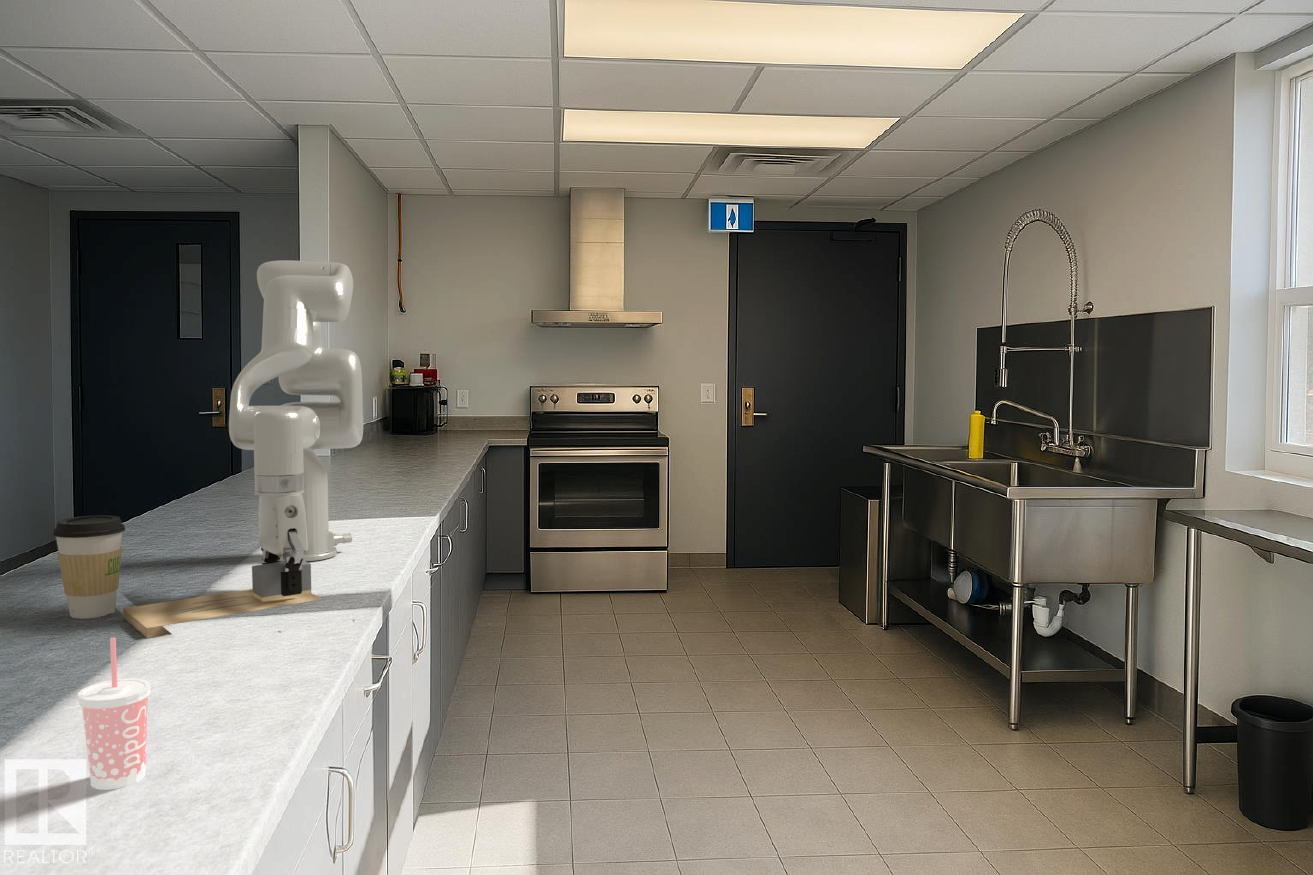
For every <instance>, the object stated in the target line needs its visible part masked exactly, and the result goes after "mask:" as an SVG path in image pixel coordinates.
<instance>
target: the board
mask: <svg viewBox="0 0 1313 875" xmlns="http://www.w3.org/2000/svg"><path fill="white" fill-rule="evenodd" d="M321 600H323V598H322V597H319V595H316V594H313V593H312V592H311V593H310V594H304V595H298V596H292V597H285V598H279V599H273V600H267V601H261V600H259V599H258V598H256V597H254V596H253V588H250V589H243V590H236V591H230V592H223V593H217V594H208V595H203V596H195V597H189V598H183V599H182V598H181V599H176V600H170V601H163V602H156V603H151V604H143V605H137V606H135V605H134V606H130V607H129V606H128V607H124V608H123V609H122V611H123V614H122V615H123V619H124V618H125V619H126V620H125V619H124V620H125V621H126V622H128V623H129V624H130V623H131V624H132V625H133V626H132V625H131V624H130V625H131V626H132V627H134V629H135V630H137V631H138V632H139V631H140V632H141V633H140V632H139V633H140V634H142V635H143V636H144V637H145V636H146V637H147V638H146V637H145V638H146V639H150V638H149V637H152V638H155V636H157V637H163V636H167V635H168V636H169V635H172V632H170V631H169V630H168V629H166V628H165V627H164V626H170V625H176V624H182V623H188V622H194V621H195V622H196V621H200V620H207V619H212V618H218V617H225V616H230V615H237V614H242V613H243V614H244V613H248V612H254V611H260V610H265V609H273V608H278V607H284V606H289V605H295V604H302V603H308V602H314V601H321Z"/></svg>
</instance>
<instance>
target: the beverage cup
mask: <svg viewBox="0 0 1313 875" xmlns="http://www.w3.org/2000/svg"><path fill="white" fill-rule="evenodd" d="M116 640H117V639H116V637H114V636H113V637H109V644H110V645H109V646H110V647H109V649H110V672H111V673H110V674H111V675H110V676H111V679H110V680H106V681H105V680H103V681H100V682H98V683H94V684H90V685H89V686H86V687H84V688H81V690H80V691H79V692H78V693H77V698H78V705H79V706H80V707H81V709H82V719H83V726H84V728H83V729H84V735H85V736H84V737H85V743H86V744H85V745H86V746H85V747H86V753H87V754H86V756H87V762H88V771H89V772H88V773H89V778H90V780H89V782H90V785H91V787H92V788H94V789H96V790H101V791H102V790H105V791H107V790H109V791H110V790H116V789H122V788H125V787H130V786H131V785H134V784H137V783H138V782H140V781H141V780H143V779H144V777H145V776H146V766H147V736H148V735H147V733H148V732H147V731H148V706H149V704H148V703H149V695H151V693H152V692H151V688H152V683H150V681H149V680H146V679H143V678H134V677H133V678H132V677H131V678H118V664H117V662H118V661H117V660H118V659H117V641H116Z"/></svg>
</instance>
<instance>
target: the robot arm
mask: <svg viewBox="0 0 1313 875" xmlns="http://www.w3.org/2000/svg"><path fill="white" fill-rule="evenodd" d="M256 281H257V282H256V283H257V285H258V289H259V291H260V293H261V296H262V299H263V309H262V310H263V311H262V312H263V313H262V328H261V329H262V332H261V333H262V334H261V348H260V349H261V350H260V352H259V353H258V354H257V355H255V357H253V358H252V359H250V361H249V362H247V364H246V365H245V366H244V367H243V368H242V369H241V371H240V373H239V374H238V376H237V377H236V379H235V380H234V383H233V386H232V389H231V392H230V403H229V415H228V432H229V438H230V441H231V442H232V444H233V445H234V446H235V447H236V448H238V449H241V450H246V451H253V462H254V466H253V467H254V468H253V469H254V470H253V471H254V494H255V496H258V497H259V498H258V516H257V518H258V519H257V521H258V522H257V526H258V529H257V530H258V543H259V547H260V550H261V552H262V554H261V562H262V563H261V565H262V564H270V563H277V562H281V564H282V568H283V572H281V595H282V596H290V595H296V594H301V593H302V561H305V562H313V561H321V560H326V559H330V558H333V557H335V556H336V555H337V554H338V549H337V548H336V546H338V544H349V543H352V541H353V535H352V534H351V533H350V532H349V533H342V534H341V533H334V532H333V531H332V532H331V531H329V525H330V524H329V481H328V479H329V478H328V477H329V476H328V474H329V473H328V469H327V467H326V465H325V463H324V461H322V460H321V459H320V457H319V456H318V455H317V454H316V453H315V452H314V451H315V450H320V449H321V450H322V449H323V450H324V449H325V450H326V449H329V450H330V449H331V450H332V449H333V450H336V449H337V450H338V449H352V448H356V447H358V446H359V445H360V444H361V442H362V440H363V437H364V436H363V435H364V409H363V407H364V406H363V404H364V403H363V399H364V398H363V375H362V365H361V360H360V358H359V355H358V354H357V353H356V352H354V351H352V350H350V349H348V348H347V349H346V348H325V347H323V339H322V338H323V333H322V331H323V329H322V327H323V326H322V323H342V322H344V321H345V320H346V319H347V317H348V316H349V313H350V309H351V304H352V298H353V292H354V279H353V274H352V272H351V270H350V268H349V266H348V265H346V264H345V263H341V262H335V261H334V262H332V261H309V260H290V259H289V260H288V259H287V260H283V259H282V260H272V261H266V262H263V263H261V264H260V265H259V266H258V268H257V270H256ZM277 378H278V383H279V387H280V389H281V390H282V391H283V392H284V393H286V394H288V395H292V396H293V395H295V396H334V397H336V398H338V399H339V401H335V402H333V401H329V402H327V401H296V402H295V401H293V402H287V403H283V404H281V405H250V400H251V398H252V395H253V394H254V393H255V392H256V390H257V389H258V388H260V387H261V386H262V385H264V384H266V383H267V382H269V381H271V380H273V379H277ZM287 561H288V563H287Z"/></svg>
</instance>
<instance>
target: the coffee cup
mask: <svg viewBox="0 0 1313 875" xmlns="http://www.w3.org/2000/svg"><path fill="white" fill-rule="evenodd" d="M124 531H126V527H125V524H124V523H123V522H122V520H121V517H120V516H117V515H110V514H109V515H107V514H105V515H104V514H101V515H99V514H98V515H97V514H95V515H82V516H74V517H73V516H72V517H67V518H63V519H59V520H57V522H56V526H55V528H54V529H53V531H52V536H53V537H55V539H56V544H57V550H58V551H57V558H58V563H59V564H58V565H59V568H60V569H59V570H60V573H61V579H62V585H63V590H64V594H65V595H66V599H67V600H66V602H67V607H68V612H69V613H68V614H69V617H70V618H73V619H82V620H83V619H94V618H101V616H102V617H105V615H106V616H108V615H107V614H110V613H112V614H114V613H115V612H116V606H117V595H118V590H119V585H120V584H119V583H120V574H121V562H122V552H123V547H122V539H123V532H124ZM110 615H111V614H110Z"/></svg>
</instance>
